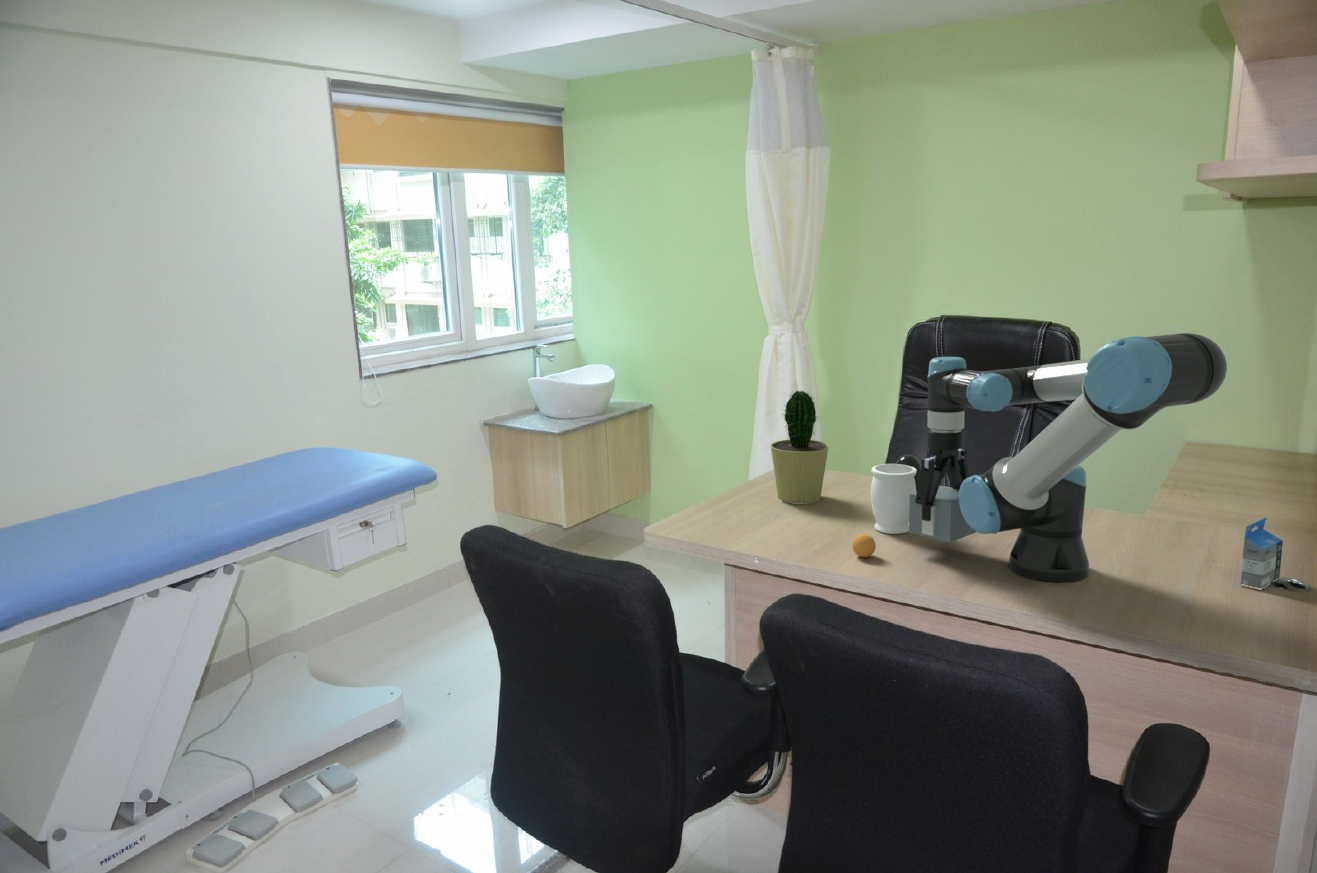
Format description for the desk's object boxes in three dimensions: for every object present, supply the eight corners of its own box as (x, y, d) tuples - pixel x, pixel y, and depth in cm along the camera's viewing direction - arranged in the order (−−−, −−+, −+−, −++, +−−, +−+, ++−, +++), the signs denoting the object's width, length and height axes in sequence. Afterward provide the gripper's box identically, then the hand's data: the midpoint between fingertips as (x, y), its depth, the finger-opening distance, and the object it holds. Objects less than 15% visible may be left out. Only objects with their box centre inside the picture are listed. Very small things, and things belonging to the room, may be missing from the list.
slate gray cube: (976, 532, 193) (977, 493, 192) (950, 542, 187) (951, 502, 185) (935, 522, 201) (936, 485, 199) (909, 532, 195) (909, 493, 193)
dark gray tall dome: (932, 510, 226) (935, 452, 222) (920, 521, 217) (922, 461, 214) (893, 505, 231) (895, 448, 228) (880, 515, 223) (881, 457, 219)
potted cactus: (762, 493, 245) (761, 386, 239) (813, 488, 249) (814, 382, 242) (782, 509, 231) (782, 395, 224) (837, 503, 234) (839, 391, 228)
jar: (916, 537, 206) (918, 474, 203) (870, 535, 208) (872, 473, 205) (912, 523, 216) (914, 463, 213) (869, 521, 218) (870, 462, 215)
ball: (880, 556, 194) (880, 535, 193) (865, 562, 191) (866, 540, 190) (861, 551, 198) (862, 529, 197) (847, 556, 195) (847, 534, 194)
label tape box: (1261, 592, 170) (1268, 531, 167) (1237, 586, 173) (1244, 526, 170) (1279, 581, 175) (1287, 521, 172) (1256, 575, 178) (1263, 516, 175)
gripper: (959, 420, 200) (956, 514, 204) (898, 435, 185) (897, 536, 190) (990, 423, 194) (986, 521, 198) (929, 439, 180) (927, 544, 184)
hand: (942, 528), depth 194 cm, fingers closed on slate gray cube, 10 cm apart
